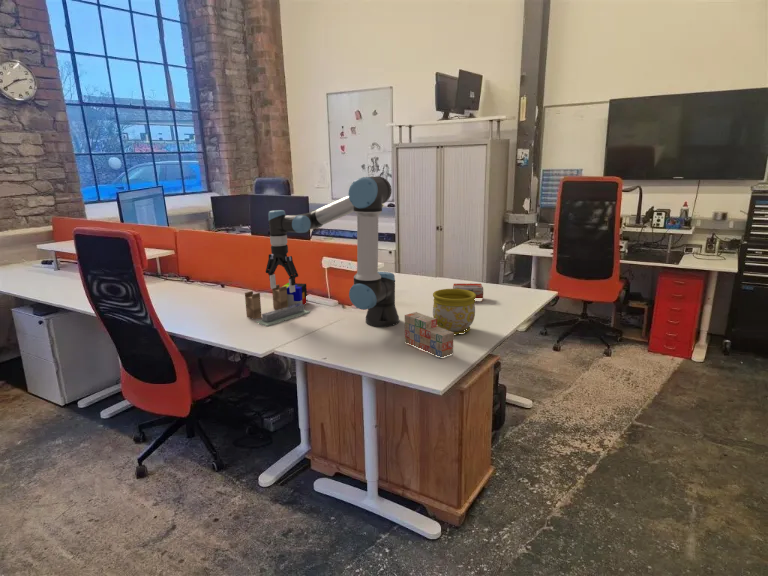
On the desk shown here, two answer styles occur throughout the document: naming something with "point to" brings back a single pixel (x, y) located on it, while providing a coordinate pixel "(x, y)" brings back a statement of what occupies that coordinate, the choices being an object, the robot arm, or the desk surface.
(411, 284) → the desk surface
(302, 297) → the puzzle toy
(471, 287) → the medicine box
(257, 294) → the stand
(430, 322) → the stack of blocks
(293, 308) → the rail
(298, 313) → the mat
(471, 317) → the flowerpot
